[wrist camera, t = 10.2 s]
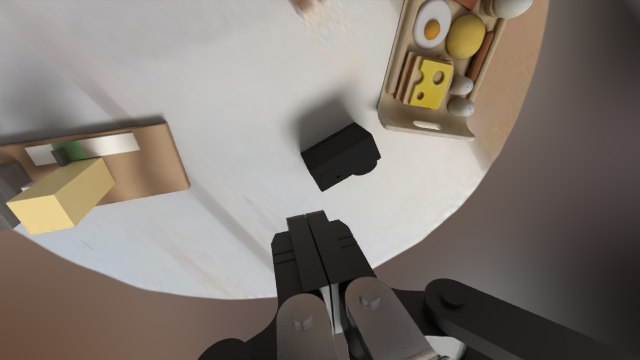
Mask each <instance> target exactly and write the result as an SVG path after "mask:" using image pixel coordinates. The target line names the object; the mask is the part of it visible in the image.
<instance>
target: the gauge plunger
mask: <svg viewBox="0 0 640 360" xmlns="http://www.w3.org/2000/svg"><path fill="white" fill-rule="evenodd" d="M50 152H51V153H52V155H53V157H54V158H55V160H56V161H57V163H58V165H59V166H60V168H58V169H57V170H55V171H53V172H52V173H50V174H49V175H47V176H46V177H44V178H43V179H41V180H40V181H34V182H30V183H28V184H27V185H25V186H24V187H22V188H21V189H22V190H23V192H22V193H20V194H19V195H17V196H16V197H14V198H12V199H11V200H9V201H8V202H6V204H7V205H8V207H9V208H10V209H11V210H12V212H13V213H14V214H15V215H16V217H17V218H18V219H19V220H20V222H21V223H22V224H23V225H24V227H25V228H26V229H27V230H28V232H29V233H30V234H31V235H35V234H40V233H45V232H50V231H55V230H61V229H66V228H71V227H75V226H76V225H77V224H78V223H79V222H80V221H81V220H82V219H83V218H84V217H85V216H86V215H87V213H88V212H89V211H90V210H91V209H92V208H93V207H94V206H95V205H96V204H97V203H98V202H99V201H100V200H101V199H102V197H103V196H104V195H105V194H106V193H107V192H108V191H109V190H110V189H111V188H112V187H113V186H114V185H115V184H116V183H115V181H114V179H113V177H112V175H111V174H110V172H109V170H108V168H107V166H106V164H105V162H104V160H103V158H102V157H99V158H93V159H86V160H80V161H73V162H71V161H70V160H69V158H68V156H67V155H66V153H65V151H64V150H63V148H62V147H60V148H56V149H54V150H52V151H50Z"/></svg>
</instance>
